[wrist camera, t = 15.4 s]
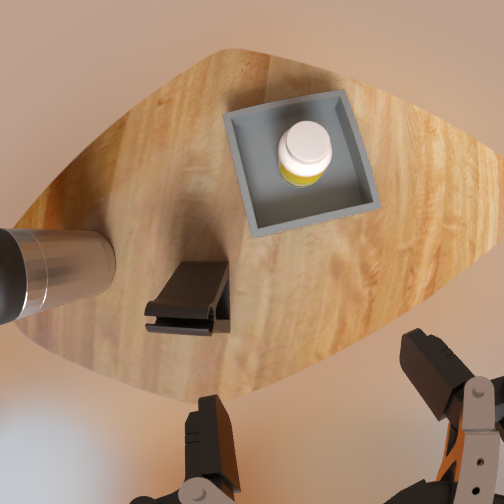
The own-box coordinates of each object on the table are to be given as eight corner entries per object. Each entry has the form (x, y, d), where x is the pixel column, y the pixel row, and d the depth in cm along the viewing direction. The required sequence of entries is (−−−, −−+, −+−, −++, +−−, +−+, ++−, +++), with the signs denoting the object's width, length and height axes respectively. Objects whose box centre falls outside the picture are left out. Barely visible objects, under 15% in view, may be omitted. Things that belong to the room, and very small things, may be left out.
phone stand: (182, 261, 37) (141, 270, 25) (229, 261, 37) (206, 272, 25) (185, 330, 38) (148, 365, 26) (230, 332, 37) (209, 371, 25)
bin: (255, 238, 36) (252, 238, 32) (228, 127, 36) (222, 114, 32) (369, 211, 35) (381, 207, 31) (337, 104, 35) (344, 89, 30)
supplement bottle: (326, 184, 35) (344, 165, 25) (282, 192, 35) (284, 174, 25) (317, 142, 34) (329, 110, 25) (273, 149, 35) (272, 118, 25)
